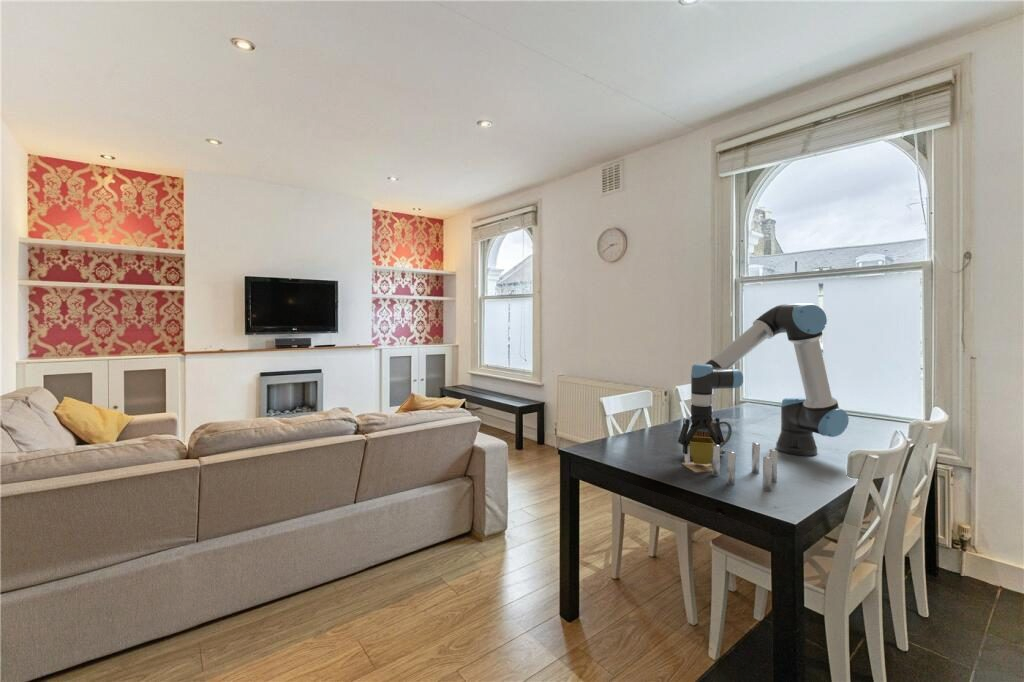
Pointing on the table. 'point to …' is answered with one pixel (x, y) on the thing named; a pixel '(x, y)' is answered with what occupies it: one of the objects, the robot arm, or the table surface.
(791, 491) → the table surface
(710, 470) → the cork mat
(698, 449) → the flower pot
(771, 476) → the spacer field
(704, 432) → the mug
